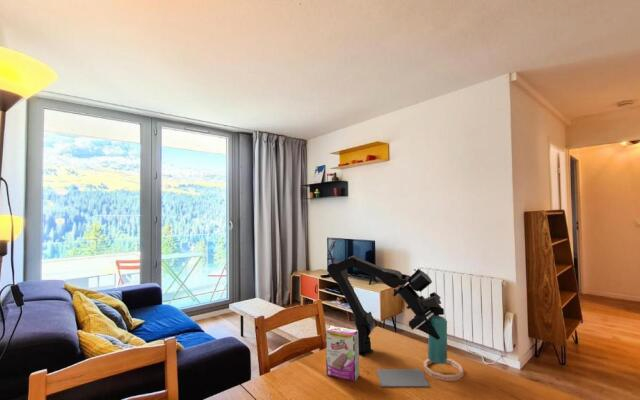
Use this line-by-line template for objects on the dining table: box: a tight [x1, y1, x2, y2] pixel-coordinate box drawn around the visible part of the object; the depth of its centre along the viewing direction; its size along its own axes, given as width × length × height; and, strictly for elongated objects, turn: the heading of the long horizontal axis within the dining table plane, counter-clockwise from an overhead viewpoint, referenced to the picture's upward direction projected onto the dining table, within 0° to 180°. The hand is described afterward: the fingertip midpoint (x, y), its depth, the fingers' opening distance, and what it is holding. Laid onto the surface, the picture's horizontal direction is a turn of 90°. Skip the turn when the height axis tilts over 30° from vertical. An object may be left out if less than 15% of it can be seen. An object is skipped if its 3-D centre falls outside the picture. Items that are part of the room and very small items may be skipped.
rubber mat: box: [376, 368, 431, 388], centre depth 105 cm, size 16×10×1 cm, turn 87°
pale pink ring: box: [423, 358, 464, 382], centre depth 109 cm, size 13×14×2 cm
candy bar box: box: [325, 325, 360, 383], centre depth 108 cm, size 11×5×16 cm, turn 65°
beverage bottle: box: [427, 306, 448, 365], centre depth 109 cm, size 6×7×20 cm
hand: (441, 335), depth 108 cm, fingers closed on beverage bottle, 6 cm apart
